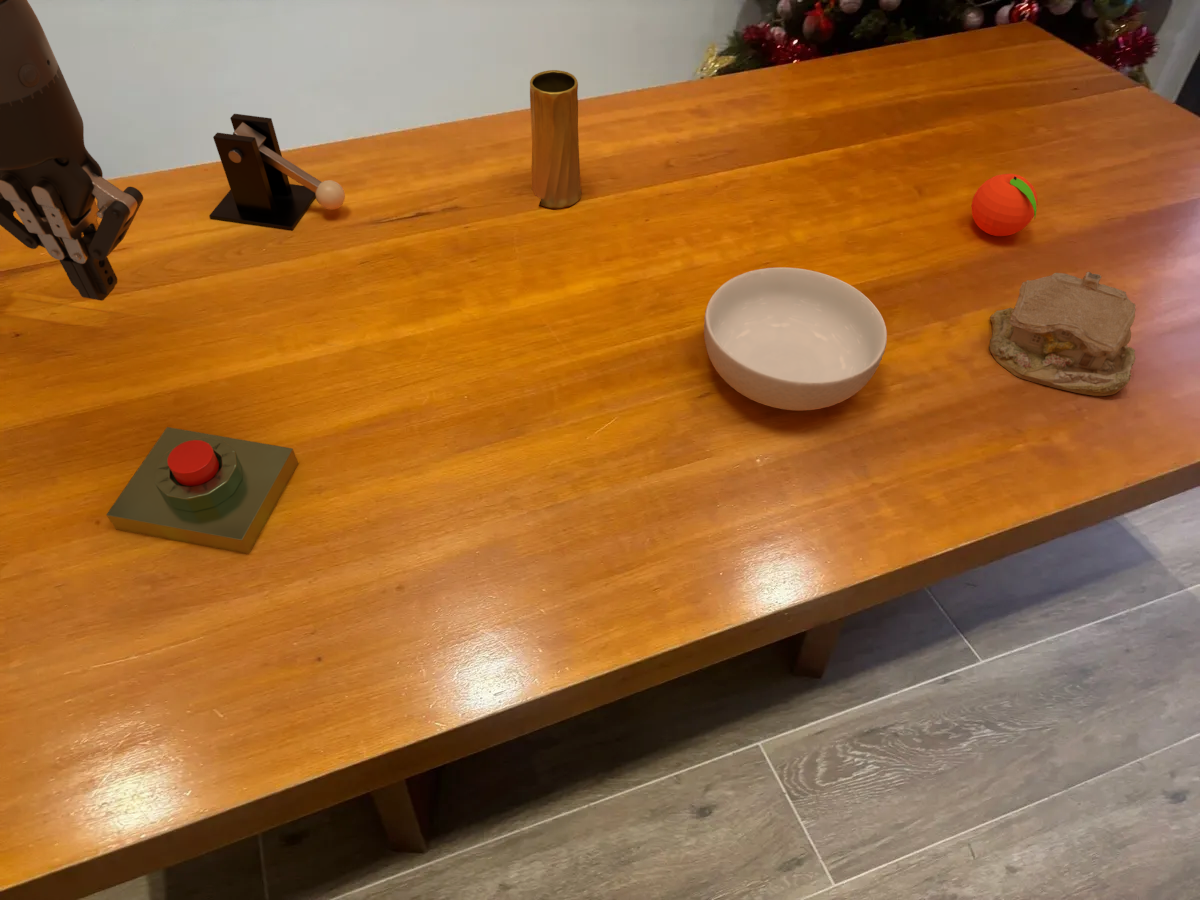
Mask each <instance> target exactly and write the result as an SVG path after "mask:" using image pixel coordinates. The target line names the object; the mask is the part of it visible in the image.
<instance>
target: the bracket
mask: <svg viewBox="0 0 1200 900" xmlns="http://www.w3.org/2000/svg"><path fill="white" fill-rule="evenodd" d="M229 119H230V123H231V125H232V129H233V132H234V131H235V130H236V129H237V128H238V127H239V126H240V124H241V123H242V122H243V123H245V124H246V125H248V126H249V127H251V128H253V129H254V130H256V131H257V132H259V133H260V134H262V135H263V136H265V137H266V139H265V142H264V144H263V145H264V146H266V147H267V148H269V149H270V150H272V151H274V152H275V153H277V154H278V155H280V156H281V157H283V156H282V151H281V148H280V143H279V141H278V137H277V134H276V129H275V126H274V123H273V119H272V118H271V117H264V116H257V115H250V114H249V115H248V114H242V113H241V114H240V113H233V114H232V115H231V117H230V118H229ZM212 138H213V141H214V144H215V147H216V150H217V153H218V156H219V159H220V162H221V164H222V168H223V171H224V174H225V177H226V180H227V183H228V185H229V188H230V190H229V191H227V193H226V195H225V196H224V197H223V198H221V200H220V202H219V203H218V204H217V205H216V206H215V208H214V209H213V210H212V212H210V214H209V216H208V217H209V219H210V220H214V221H220V222H227V223H234V224H241V225H247V226H255V227H262V228H269V229H276V230H283V231H290V232H291V231H292V232H293V231H294V230H295V229H296V227H297V225H298V224H299V223H300V221H301V220H302V218H303V217H304V216H305V214H306V213H307V211H308V210H309V208H310V207H311V205H312V204H313V203H314V202H315V200H317V199H316V195H315V193H314V192H313V191H311V190H310V189H308V188H306V187H305V186H303V185H302V184H294V183H290V180H289V176H287V175H286V174H284V173H283V172H281V171H279V170H278V169H276V168H275V167H273V166H271V165H270V164H268V163H267V162H265V161H263V160H262V159H261V155H260V152H259V149H258V145H257V142H256V138H255V137H248V136H240V135H233V133H224V132H216V133H215V135H213V137H212Z"/></svg>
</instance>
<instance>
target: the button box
mask: <svg viewBox="0 0 1200 900" xmlns="http://www.w3.org/2000/svg"><path fill="white" fill-rule="evenodd" d="M192 440H200V441H204V442H206V443H208V444H209V445H210V446H211V447H212V449H213V451H214V453H215V455H216V457H217V459H218V462H219V469H218V471H217V473H216V475H215V476H214V477H213V478H212V479H211V480H209V481H208V482H206V483H204V484H201V485H197V486H185V485H182V484H180V483H179V482H177V480H176V479H175V477H174V475H173V473H172V472H171V470H170V468H169V466H168V462H167V461H168V456H169V454H170V453H171V451H172V450H173V449H174V448H175V447H177V446H178V445H180V444H182V443H184V442H187V441H192ZM298 465H299V462H298V458H297V455H296V453H295V450H294V448H292V447H287V446H280V445H275V444H268V443H264V442H263V443H262V442H257V441H250V440H246V439H240V438H235V437H228V436H222V435H216V434H210V433H204V432H200V431H199V432H198V431H193V430H188V429H182V428H175V427H170V426H167V427H165V429H164V431H163V432H162V433H161V435H160V436H159V438H158V439H157V441H156V442H155V444H154V445H153V446H152V448H151V450H150V451H149V452H148V453H147V455H146V456H145V458H144V460H143V461H142V462H141V464H140V465H139V467H138V468H137V469H136V471H135V472H134V474H133V476H132V477H131V478H130V480H129V481H128V483H127V484H126V485H125V486H124V488H123V489H122V491H121V492H120V494H119V495H118V497H117V498H116V500H115V502H114V503H113V504H112V505H111V507H110V509H109V510H108V511H107V513H106V517H107V518H108V520H109V521H110V523H111V525H112V526H113V527H114V529H115V530H116V531H122V532H127V533H132V534H136V535H137V534H138V535H143V536H148V537H153V538H158V539H163V540H169V541H175V542H181V543H186V544H191V545H196V546H202V547H207V548H212V549H217V550H222V551H229V552H233V553H240V554H245V555H250V554H251V552H252V550H253V549H254V547H255V544H256V543H257V541H258V539H259V537H260V535H261V534H262V532H263V530H264V528H265V526H266V524H267V523H268V521H269V519H270V517H271V515H272V513H273V511H274V510H275V508H276V506H277V504H278V503H279V501H280V498H281V497H282V495H283V493H284V492H285V490H286V488H287V487H288V483H289V482H290V480H291V478H292V477H293V474H294V473H295V471H296V469H297V467H298Z"/></svg>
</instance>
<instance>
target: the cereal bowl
mask: <svg viewBox="0 0 1200 900" xmlns="http://www.w3.org/2000/svg"><path fill="white" fill-rule="evenodd" d="M704 312H705V313H704V323H703V335H704V339H703V340H704V344H705V349H706V352H707V355H708V358H709V359H708V360H709V361H710V362H711V364H712V365H711V366H713V367H714V369H715V372H717V373H718V375H719V376H720V378H722V379H723V381H724V382H725V383H726V384H727V385H729V386H730V388H732V389H734V390H735V391H736V392H737V393H739V394H741V395H742V396H744V397H746V398H747V399H749V400H750V401H754V402H756V403H758V404H762V405H764V406H766V407H771V408H774V409H779V410H780V409H781V410H787V411H794V412H795V411H803V412H804V411H814V410H820V409H824V408H829V407H832V406H836V405H837V404H840V403H843V402H844V401H846V400H848V399H850V398H851V397H854V396H855V395H856V394H857V393H858V392H860V391H861V390H862V389H863V388H864V387H865V386H866V385H867V384H868V382H869V381H870V380H871V379H872V377H874V375H875V373H876V371H877V369H878V368H879V366H880V363H881V361H882V360H883V356H884V354H885V351H886V348H887V341H888V340H887V339H888V331H887V326H886V323H885V320H884V318H883V315H882V314H881V312H880V311H879V309H878V307H877V306H876V305H875V304H874V303H873V302H872V301H871V300H870V299H869V298H868V297H867V296H866V295H865V294H864V293H862V291H860V290H859V289H857V288H856V287H854V285H851V284H849V283H847V282H845V281H843V280H841V279H840V278H837V277H834V276H832V275H828V274H826V273H823V272H820V271H815V270H811V269H805V268H798V267H782V266H781V267H767V268H766V267H765V268H759V269H754V270H750V271H747V272H743V273H741V274H738V275H736V276H734V277H732V278H730V279H729V280H727V281H726V282H724V283H723V284H721V286H720V287H718V288H717V290H716V291H715V292H714V293H713V294H712V296H711V297H710V299H709V301H708V303H707V306H706V309H705V311H704Z"/></svg>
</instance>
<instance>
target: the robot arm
mask: <svg viewBox="0 0 1200 900" xmlns="http://www.w3.org/2000/svg"><path fill="white" fill-rule="evenodd" d="M84 133H85V132H84V121H83V117H82V115H81V113H80V110H79V109H78V106H77V104H76V102H75V99H74V97H73V94H72V93H71V90H70V88H69V86H68V83H67V81H66V79H65V76H64V74H63V72H62V69H61V67H60V65H59V63H58V61H57V58H56V55H55V54H54V52H53V49H52V47H51V44H50V42H49V40H48V37H47V35H46V33H45V31H44V29H43V26H42V24H41V22H40V20H39V18H38V16H37V14H36V12H35V11H34V9H33V8H32V6H31V4H30V3H29V1H28V0H0V227H2V228H3V229H4V230H6V231H7V232H8V233H9V234H10V235H12V236H13V237H14V238H15V239H16V240H18V241H19V242H20V243H22V244H23V245H24V246H25V247H27V248H28V249H32V250H35V249H38V247H42V248H44V249H45V250H46V251H47V253H48V254H49V255H50V256H51V257H52V258H53V259H55V260H58V261H59V262H60V264H61V266H62V268H63V270H64V272H65V273H66V275H67V278H68V279H69V282H70V283H71V285H72V286H73V287H74V288H75V289H76V290H77V291H78V293H79V295H80V296H81V298H85V299H90V300H96V301H101V302H102V301H104V300H105V299H106V298H107V297H108V296H109V295H110V294H111V292H112V291H113V290H114V289H115V287H116V285H117V284H118V277H117V275H116V272H115V271H114V268H113V267H112V264H111V262H110V260H109V255H110V254H111V253H112V252H113V251H114V250H115V249H116V247H117V246H119V245H120V243H121V242H122V241H123V240H124V238H125V237H126V235H127V233H128V231H129V229H130V227H131V225H132V223H133V221H134V219H135V217H136V215H137V214H138V211H139V210H140V207H141V205H142V203H143V201H144V195H143V193H142V192H141V191H140V190H139V189H138V188H136V187H134V186H126V188H125V189H124V190H122V189H120V188H119V187H117V186H116V185H114V184H113V183H112V182H110V181H108V180H107V179H105V178H104V175H103V170H102V168H101V165H100V164H99V162H98V161H97V160H95V158H94V157H93V156H92V155H91V153H90V152H89V151H88V149H87V148H86V145H85V137H84ZM96 201H97V202H96ZM14 213H16V214H17V216H18V217H19V219H20V220H19V219H18V218H17V217H15V215H14ZM98 218H99V219H101V221H100V222H99V221H98Z"/></svg>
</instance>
